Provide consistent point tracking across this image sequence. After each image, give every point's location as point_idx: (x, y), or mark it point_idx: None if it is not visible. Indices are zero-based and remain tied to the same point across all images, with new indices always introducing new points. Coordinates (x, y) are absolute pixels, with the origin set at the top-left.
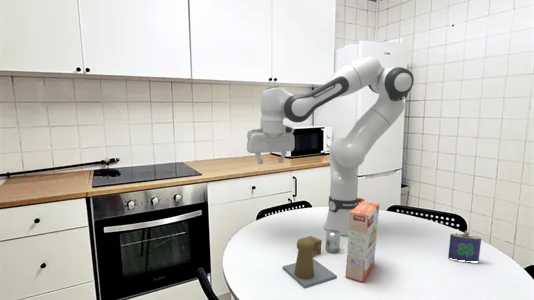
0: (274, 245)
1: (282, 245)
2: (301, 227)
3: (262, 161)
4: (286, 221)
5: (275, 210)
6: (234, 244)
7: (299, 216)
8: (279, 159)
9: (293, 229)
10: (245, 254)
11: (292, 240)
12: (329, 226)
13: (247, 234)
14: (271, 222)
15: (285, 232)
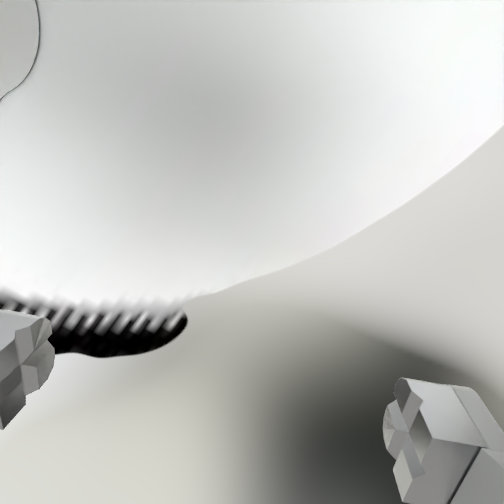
0: (334, 46)
1: (307, 25)
2: (121, 136)
3: (431, 410)
4: (140, 223)
5: (116, 332)
6: (456, 153)
7: (62, 235)
8: (14, 382)
9: (163, 139)
10: (489, 43)
11: (237, 43)
12: (17, 16)
13: (352, 204)
14: (200, 247)
15: (211, 133)
